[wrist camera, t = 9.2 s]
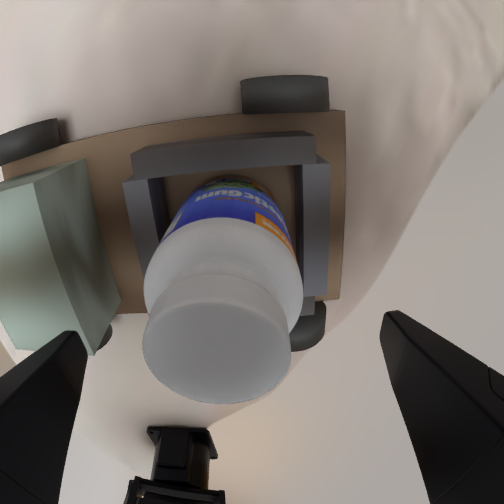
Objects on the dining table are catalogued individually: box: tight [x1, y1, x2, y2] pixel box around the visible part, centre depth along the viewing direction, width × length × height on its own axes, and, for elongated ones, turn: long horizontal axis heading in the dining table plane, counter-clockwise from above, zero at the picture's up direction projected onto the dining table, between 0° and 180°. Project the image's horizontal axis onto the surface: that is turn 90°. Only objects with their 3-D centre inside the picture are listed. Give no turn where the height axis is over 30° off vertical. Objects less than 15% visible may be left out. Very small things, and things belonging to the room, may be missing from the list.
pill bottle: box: [143, 175, 303, 404], centre depth 12 cm, size 5×5×10 cm
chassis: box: [0, 75, 346, 356], centre depth 15 cm, size 14×20×6 cm
